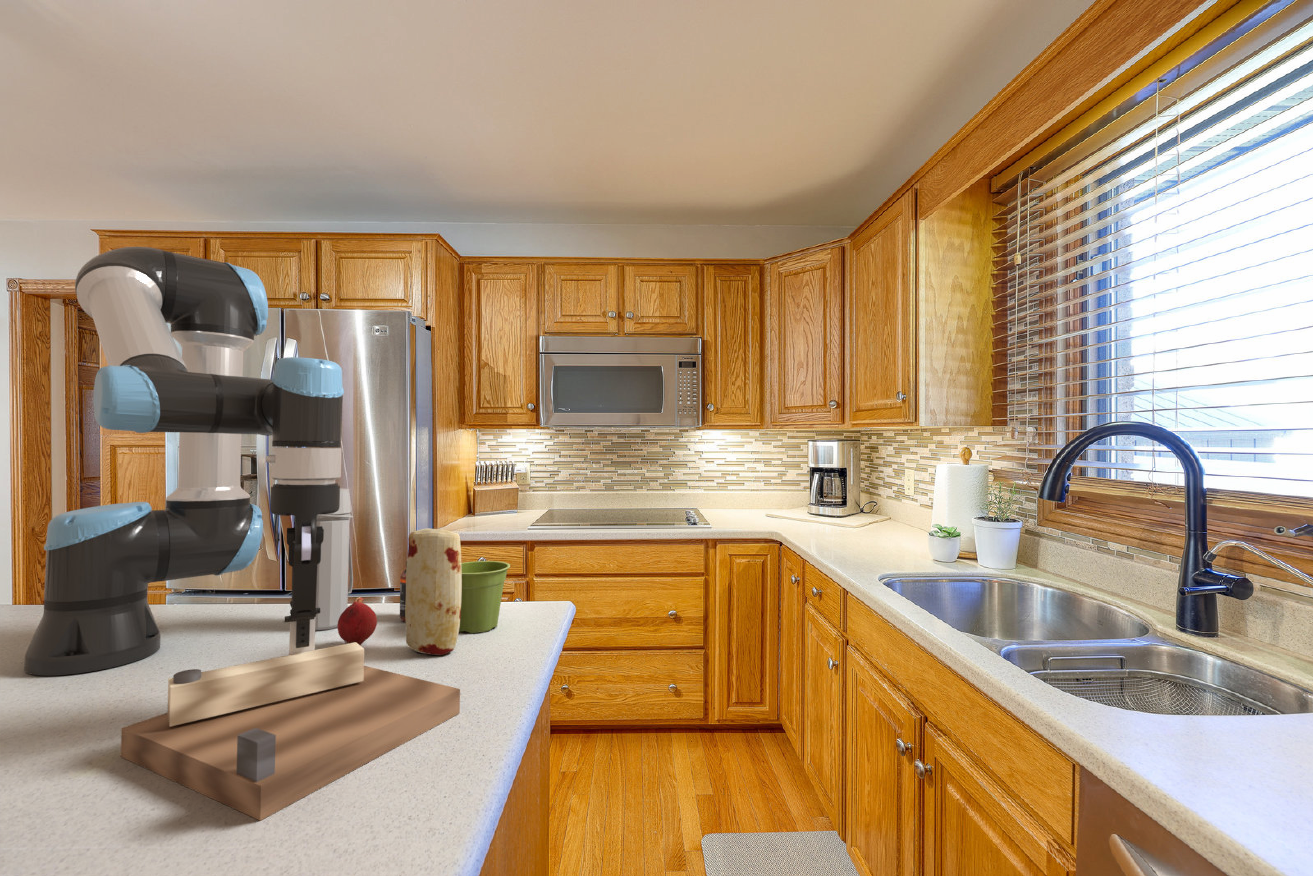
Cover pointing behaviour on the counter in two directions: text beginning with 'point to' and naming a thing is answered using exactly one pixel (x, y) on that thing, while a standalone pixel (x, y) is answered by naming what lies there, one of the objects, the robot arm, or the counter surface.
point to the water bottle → (334, 565)
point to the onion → (357, 622)
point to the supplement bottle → (403, 595)
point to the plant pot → (481, 594)
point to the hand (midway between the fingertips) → (301, 670)
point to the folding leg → (261, 682)
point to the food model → (433, 591)
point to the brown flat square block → (290, 740)
